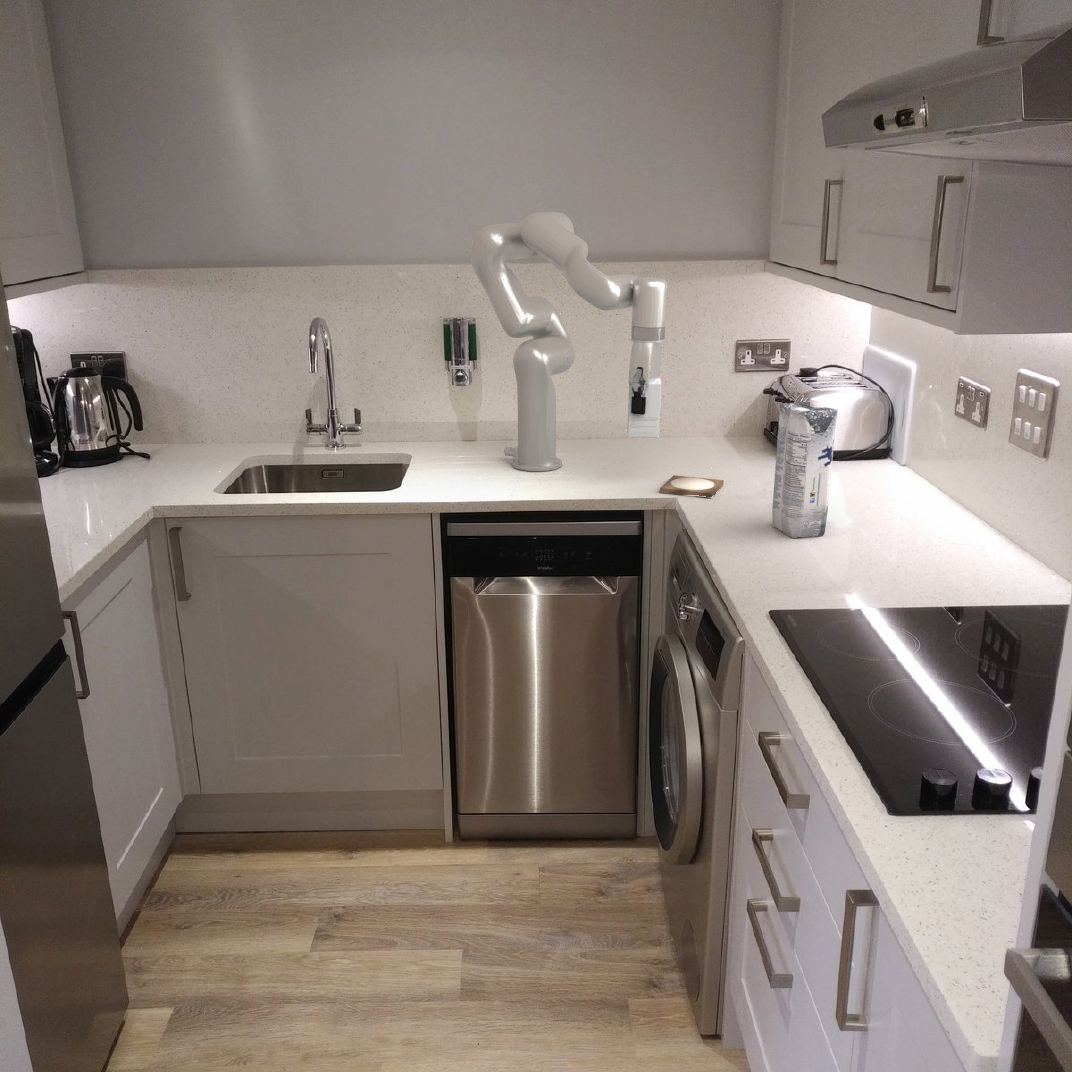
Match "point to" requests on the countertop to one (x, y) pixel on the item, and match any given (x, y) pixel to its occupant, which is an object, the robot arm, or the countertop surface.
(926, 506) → the countertop surface
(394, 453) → the countertop surface
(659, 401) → the supplement box
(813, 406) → the juice carton
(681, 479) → the board
